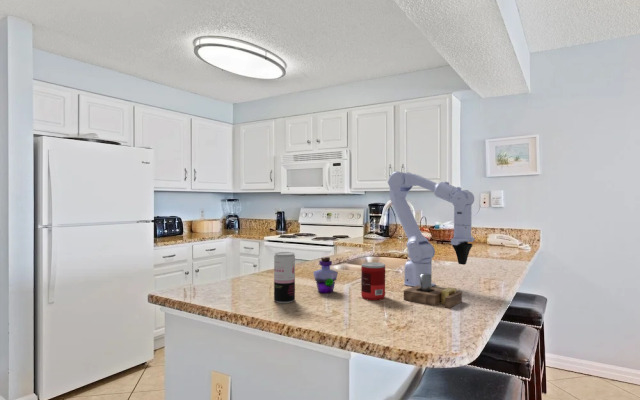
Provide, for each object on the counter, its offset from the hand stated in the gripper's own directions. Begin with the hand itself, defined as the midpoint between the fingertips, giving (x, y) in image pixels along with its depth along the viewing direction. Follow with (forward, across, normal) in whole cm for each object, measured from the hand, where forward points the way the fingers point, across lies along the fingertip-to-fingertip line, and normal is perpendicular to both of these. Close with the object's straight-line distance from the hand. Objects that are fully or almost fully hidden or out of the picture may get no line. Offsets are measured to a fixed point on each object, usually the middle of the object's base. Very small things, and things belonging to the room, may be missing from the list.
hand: (462, 264), depth 136 cm
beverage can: (+10, -49, +37) cm, 63 cm away
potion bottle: (+10, -31, +36) cm, 48 cm away
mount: (+10, -17, +3) cm, 20 cm away
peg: (+10, -17, +5) cm, 20 cm away
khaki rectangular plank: (+10, -16, -2) cm, 18 cm away
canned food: (+10, -27, +19) cm, 34 cm away
